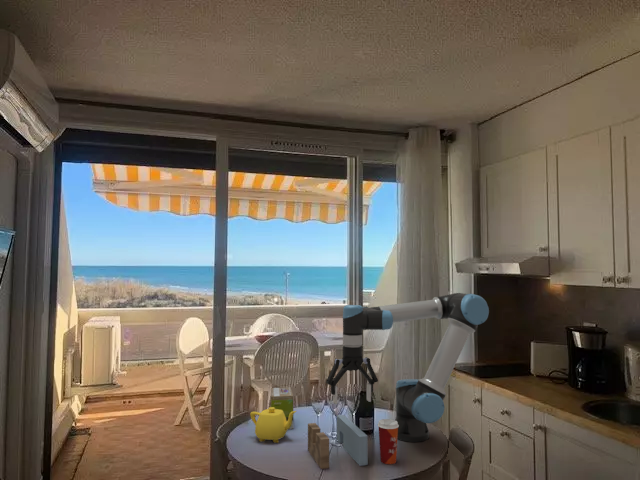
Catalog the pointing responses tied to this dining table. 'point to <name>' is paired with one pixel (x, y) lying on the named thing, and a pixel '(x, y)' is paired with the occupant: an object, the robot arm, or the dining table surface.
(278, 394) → the tea box
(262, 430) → the teapot
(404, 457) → the dining table surface
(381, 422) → the paper cup
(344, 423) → the slate board
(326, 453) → the notched walnut block
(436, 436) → the dining table surface
